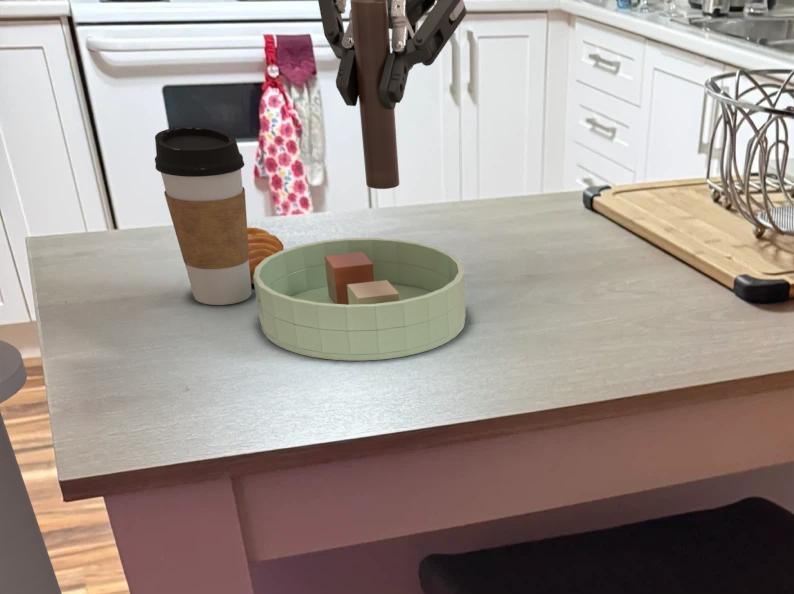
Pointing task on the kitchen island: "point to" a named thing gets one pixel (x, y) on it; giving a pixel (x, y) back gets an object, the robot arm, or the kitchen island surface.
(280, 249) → the pastry
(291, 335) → the bowl
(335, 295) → the block terracotta
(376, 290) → the block cream
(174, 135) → the coffee cup
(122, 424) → the kitchen island surface
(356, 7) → the brown tall cylinder
